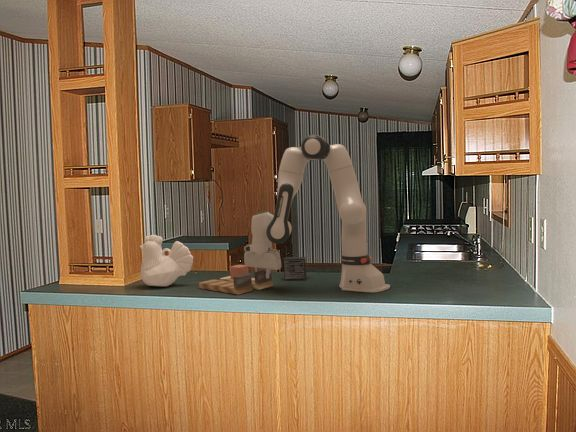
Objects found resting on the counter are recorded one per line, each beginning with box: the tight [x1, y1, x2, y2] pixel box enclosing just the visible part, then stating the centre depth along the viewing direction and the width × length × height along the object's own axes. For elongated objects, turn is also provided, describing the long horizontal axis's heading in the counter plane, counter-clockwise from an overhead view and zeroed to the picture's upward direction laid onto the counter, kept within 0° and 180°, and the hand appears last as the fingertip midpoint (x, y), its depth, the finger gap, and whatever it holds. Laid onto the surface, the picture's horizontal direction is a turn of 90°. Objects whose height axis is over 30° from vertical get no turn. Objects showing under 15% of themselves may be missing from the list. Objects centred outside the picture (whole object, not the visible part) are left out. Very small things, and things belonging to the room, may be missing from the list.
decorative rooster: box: [139, 234, 194, 287], centre depth 266 cm, size 25×16×25 cm, turn 77°
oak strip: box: [198, 273, 254, 295], centre depth 253 cm, size 26×9×8 cm, turn 49°
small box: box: [282, 256, 307, 281], centre depth 271 cm, size 11×6×10 cm, turn 84°
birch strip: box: [219, 269, 274, 291], centre depth 261 cm, size 26×9×8 cm, turn 49°
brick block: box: [229, 264, 249, 279], centre depth 263 cm, size 6×6×6 cm
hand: (263, 277), depth 253 cm, fingers closed on birch strip, 3 cm apart
